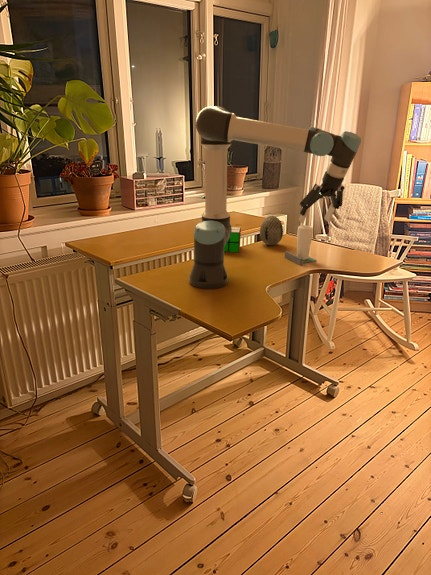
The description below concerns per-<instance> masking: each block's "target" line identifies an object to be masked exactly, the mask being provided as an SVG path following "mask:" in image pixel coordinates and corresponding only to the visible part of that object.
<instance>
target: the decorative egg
mask: <svg viewBox="0 0 431 575" xmlns="http://www.w3.org/2000/svg"><path fill="white" fill-rule="evenodd" d="M259 236H260V239H261V241H262V242H263V243H264V244H265V245H267V246H275V245H278V244H279V243H280V242H281V240H282V239H283V236H284V227H283V223H282V222H281V220H280V218H278V217H277V216H274V215H270V216H267V217H265V218H264V219H263V220H262V223H261V225H260V229H259Z"/></svg>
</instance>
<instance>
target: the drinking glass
mask: <svg viewBox="0 0 431 575" xmlns="http://www.w3.org/2000/svg"><path fill="white" fill-rule="evenodd" d="M313 232H314V228H313V226H311V225H306V224H305V225H304V224H301V225H298V227H297V232H296V256H298V257H300V258H302V260H307V259H308V256H309V255H310V250H311V246H312V245H311V244H312V239H313ZM309 257H310V256H309Z"/></svg>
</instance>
